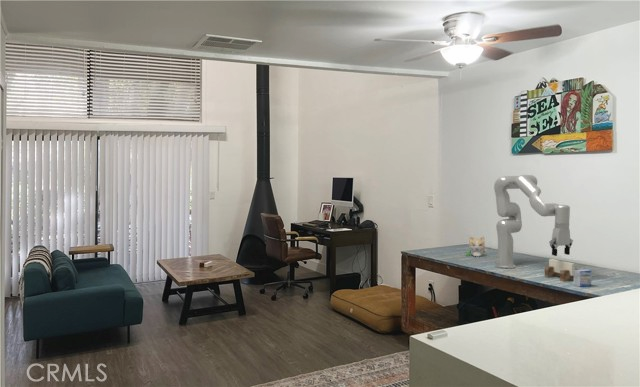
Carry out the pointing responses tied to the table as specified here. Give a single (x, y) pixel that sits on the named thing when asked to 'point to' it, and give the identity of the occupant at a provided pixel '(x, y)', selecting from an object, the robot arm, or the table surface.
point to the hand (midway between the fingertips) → (560, 254)
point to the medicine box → (582, 278)
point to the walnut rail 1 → (550, 272)
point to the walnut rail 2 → (566, 275)
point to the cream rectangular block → (562, 266)
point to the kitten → (476, 246)
